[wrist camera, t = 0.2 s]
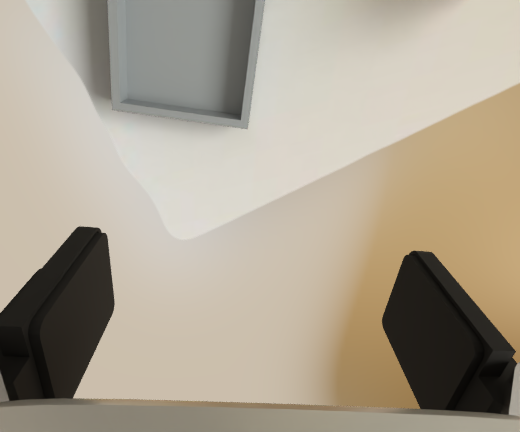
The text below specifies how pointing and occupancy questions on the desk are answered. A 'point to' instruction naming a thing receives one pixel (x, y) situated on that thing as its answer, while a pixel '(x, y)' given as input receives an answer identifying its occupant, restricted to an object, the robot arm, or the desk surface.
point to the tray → (185, 58)
